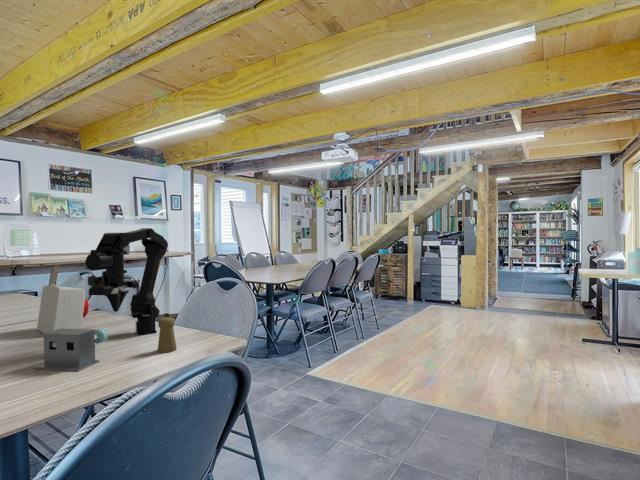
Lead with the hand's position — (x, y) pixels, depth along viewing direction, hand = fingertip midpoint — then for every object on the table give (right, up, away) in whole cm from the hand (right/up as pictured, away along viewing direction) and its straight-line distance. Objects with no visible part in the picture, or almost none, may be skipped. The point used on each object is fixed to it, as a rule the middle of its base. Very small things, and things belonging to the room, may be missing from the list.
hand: (115, 311), depth 134 cm
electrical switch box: (-34, -12, +24) cm, 43 cm away
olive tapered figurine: (+21, -12, -7) cm, 25 cm away
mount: (-3, -12, -20) cm, 23 cm away
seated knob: (-6, -8, -18) cm, 20 cm away
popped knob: (+1, -8, -15) cm, 17 cm away
